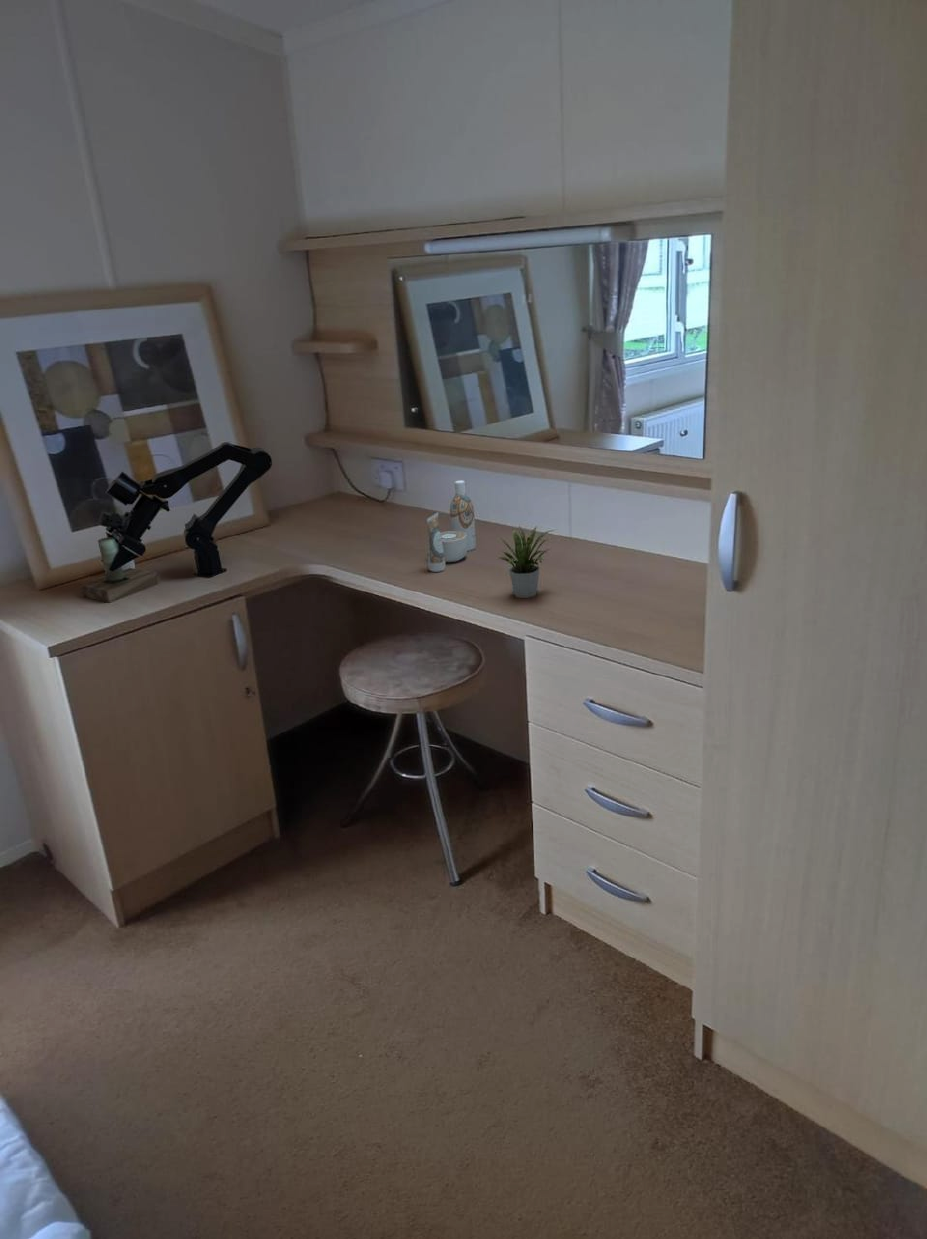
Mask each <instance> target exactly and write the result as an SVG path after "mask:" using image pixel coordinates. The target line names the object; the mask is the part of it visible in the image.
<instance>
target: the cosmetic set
mask: <svg viewBox="0 0 927 1239" xmlns="http://www.w3.org/2000/svg"><path fill="white" fill-rule="evenodd" d="M454 490H455V491H454V492H455V495H454V496H453V498H452V500H451V502H450V506H449V516H450V531H449V530H447V531H446V530H445V531H441V530H440V524H439V512H438V511H437V512H436V513H434V514H433V515H431V516H430V517H428V518H427V519H426V522H427V568H428V570H429V571H430V572H433V573H439V572H442V571H444V570H445V569H446V563H455V562H458V561H460V560H462V559H463V558H464V557H465V556H466V554H467V552H470V551H474V550H475V549H476V548H477V538H476V536H477V535H476V522H475V521H476V520H475V509H474V508H475V507H474V504H473V502H472V500H471V498H470V497H469V496H468V495H467V492H466V490H467V489H466V482H465V480H456V481H454Z"/></svg>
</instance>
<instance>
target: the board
mask: <svg viewBox="0 0 927 1239" xmlns="http://www.w3.org/2000/svg"><path fill="white" fill-rule="evenodd" d="M123 574H124V577H125V579H124V580H123V582H120V583H117V584H115V585H111V584H110V583H108V582H107V579H106V576H104V577H101V578H97V579H95V580H92V581H90V582H86V583H84V584H82V585H80V587H81V591H82V595H83V597H84V596H85V597H84V598H88V599H93V600H97V601H102V602H104V603H105V602H106V603H112V602H115V601H118V600H121V599H124V598H125V596H126V597H128V596H130V595H133V593H134V594H136V593H138V592H141V591H144V590H146V589H148V588H152V587H154V586H156V585H159V578H158V574H157V572H153V571H148V570H144V569H137V568H135V569H133V568H128V569H126V570H123ZM120 598H121V599H120Z"/></svg>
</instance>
